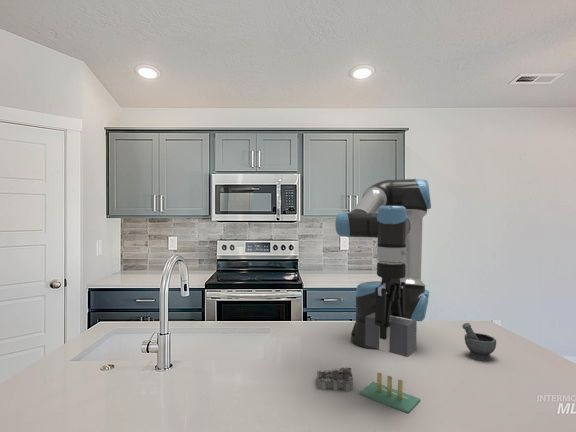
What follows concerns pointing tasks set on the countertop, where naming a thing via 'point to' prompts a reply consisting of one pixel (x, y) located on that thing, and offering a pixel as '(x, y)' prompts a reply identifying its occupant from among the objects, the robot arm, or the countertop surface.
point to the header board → (390, 394)
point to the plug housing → (393, 334)
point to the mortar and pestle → (479, 343)
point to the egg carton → (338, 375)
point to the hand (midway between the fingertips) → (390, 346)
